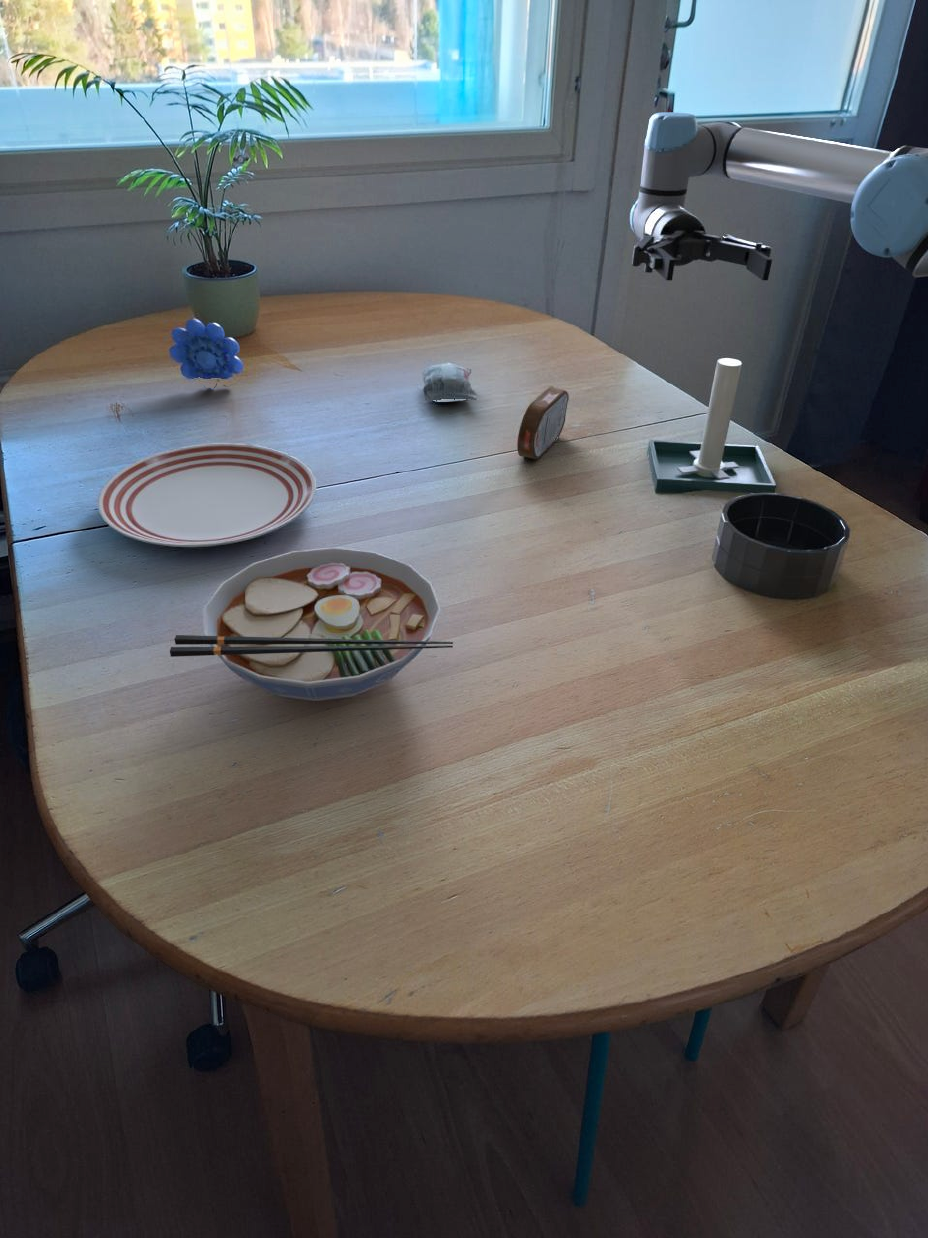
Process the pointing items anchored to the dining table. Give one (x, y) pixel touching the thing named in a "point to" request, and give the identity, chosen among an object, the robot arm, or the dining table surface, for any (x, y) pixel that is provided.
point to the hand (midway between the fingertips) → (719, 270)
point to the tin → (542, 422)
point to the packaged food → (447, 382)
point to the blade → (717, 423)
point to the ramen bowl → (318, 622)
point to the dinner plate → (207, 495)
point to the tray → (743, 479)
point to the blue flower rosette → (205, 351)
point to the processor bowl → (780, 545)
